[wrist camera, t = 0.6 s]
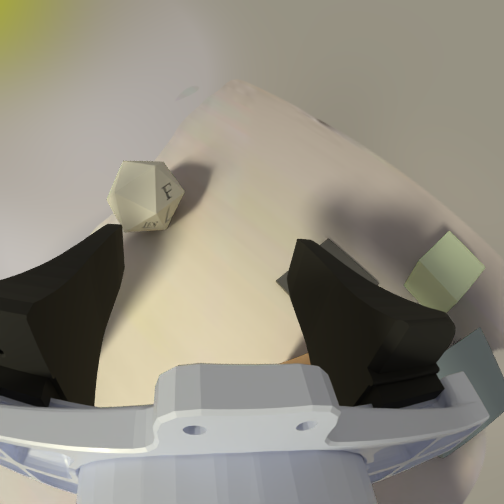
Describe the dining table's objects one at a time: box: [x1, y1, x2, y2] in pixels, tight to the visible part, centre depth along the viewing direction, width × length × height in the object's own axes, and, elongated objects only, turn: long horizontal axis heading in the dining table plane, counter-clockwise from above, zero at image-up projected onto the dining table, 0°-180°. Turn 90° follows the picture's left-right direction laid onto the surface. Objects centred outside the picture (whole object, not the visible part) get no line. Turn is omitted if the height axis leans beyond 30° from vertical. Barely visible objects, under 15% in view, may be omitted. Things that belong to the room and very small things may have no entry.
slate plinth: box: [436, 327, 504, 458], centre depth 19 cm, size 8×8×4 cm
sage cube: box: [404, 231, 485, 313], centre depth 24 cm, size 5×5×5 cm
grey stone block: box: [107, 161, 185, 232], centre depth 34 cm, size 8×9×10 cm
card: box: [276, 239, 379, 296], centre depth 28 cm, size 7×7×1 cm
